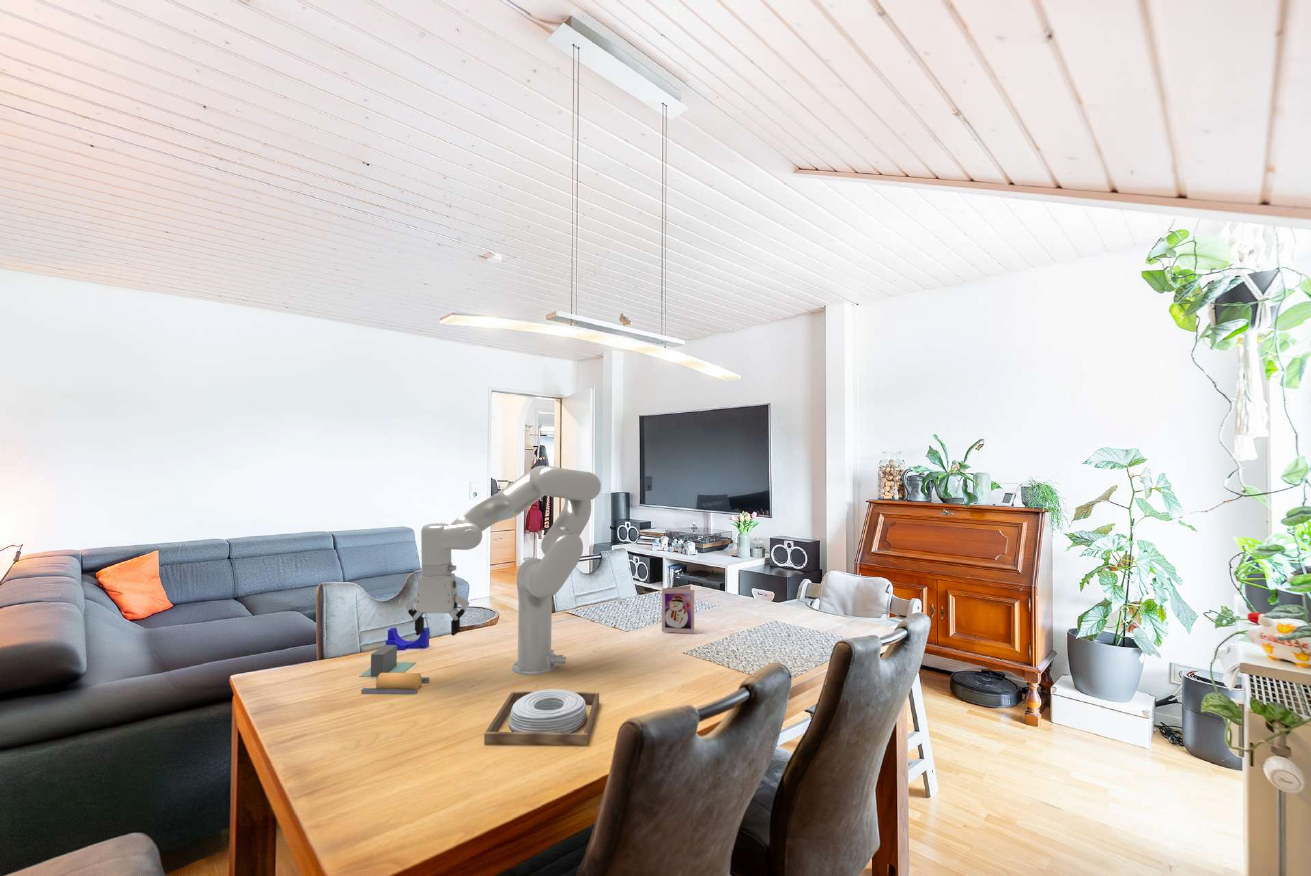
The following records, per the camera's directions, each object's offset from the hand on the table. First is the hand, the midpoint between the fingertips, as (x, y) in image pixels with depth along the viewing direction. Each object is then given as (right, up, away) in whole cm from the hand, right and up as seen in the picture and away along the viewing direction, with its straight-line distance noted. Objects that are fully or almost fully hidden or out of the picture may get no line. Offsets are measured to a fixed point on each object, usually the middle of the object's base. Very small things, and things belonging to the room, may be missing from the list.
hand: (437, 633), depth 156 cm
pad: (-18, -14, +11) cm, 25 cm away
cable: (+34, -14, -23) cm, 43 cm away
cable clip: (-21, -15, +30) cm, 39 cm away
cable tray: (+34, -13, -24) cm, 43 cm away
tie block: (-19, -14, +9) cm, 25 cm away
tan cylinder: (-9, -14, -3) cm, 17 cm away
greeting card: (+67, -16, +50) cm, 85 cm away
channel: (-10, -14, -3) cm, 17 cm away
